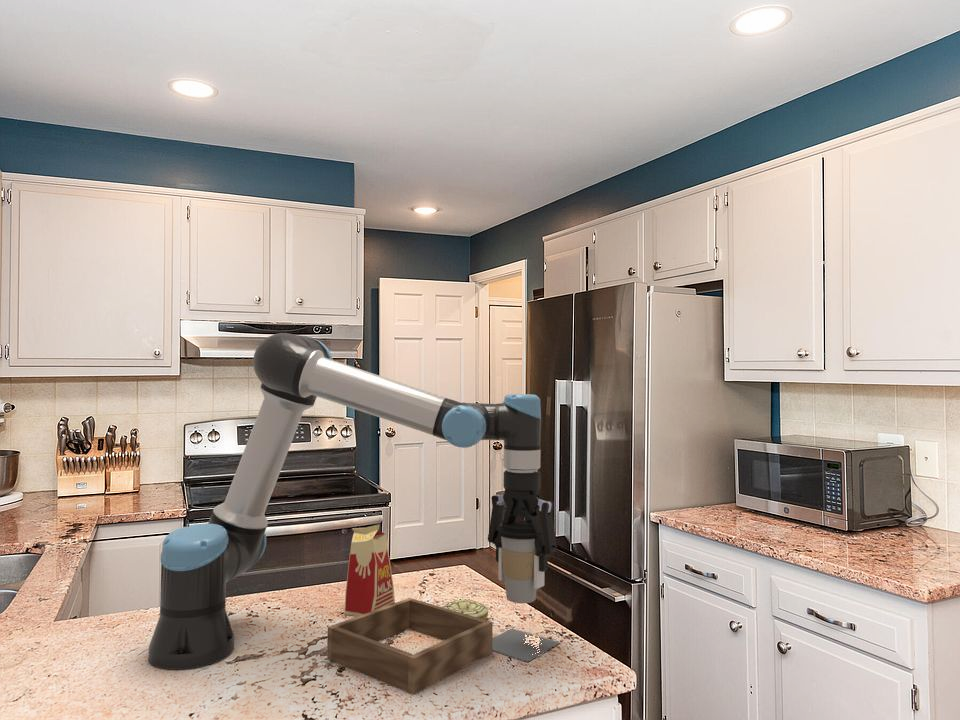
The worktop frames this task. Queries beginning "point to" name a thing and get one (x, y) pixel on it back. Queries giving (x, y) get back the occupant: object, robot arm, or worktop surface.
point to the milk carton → (368, 573)
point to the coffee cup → (518, 561)
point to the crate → (401, 669)
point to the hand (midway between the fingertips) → (521, 582)
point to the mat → (520, 645)
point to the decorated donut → (468, 608)
